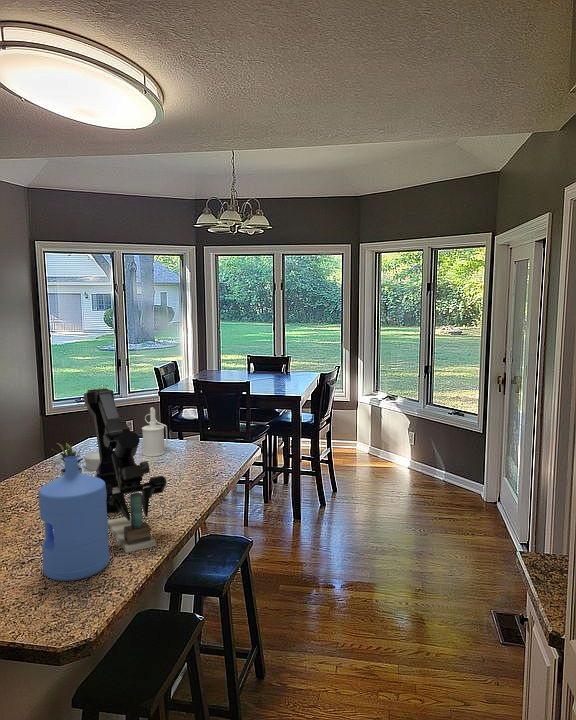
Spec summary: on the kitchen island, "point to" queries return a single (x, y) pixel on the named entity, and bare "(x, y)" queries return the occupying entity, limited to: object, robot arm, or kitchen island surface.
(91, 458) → the ramekin
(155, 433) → the white oil can
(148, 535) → the teal brown tall piece
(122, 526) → the off-white shallow tray
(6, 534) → the kitchen island surface
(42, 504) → the water jug
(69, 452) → the house plant
